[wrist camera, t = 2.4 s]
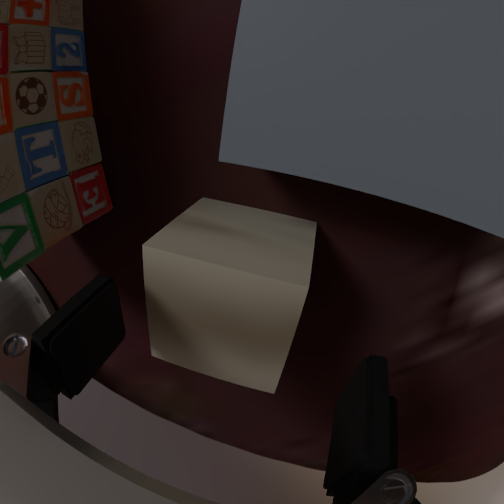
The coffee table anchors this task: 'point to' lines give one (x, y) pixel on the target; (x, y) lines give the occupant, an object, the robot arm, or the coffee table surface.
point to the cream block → (228, 290)
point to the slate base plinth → (375, 99)
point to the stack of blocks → (45, 131)
